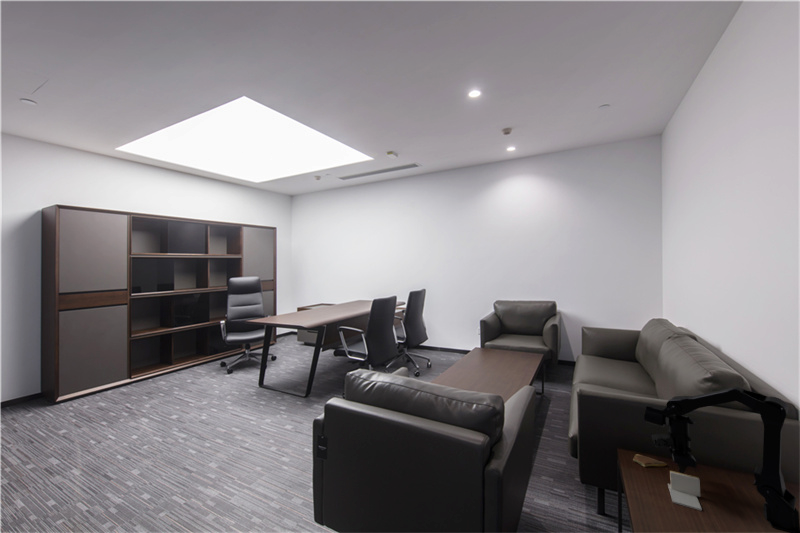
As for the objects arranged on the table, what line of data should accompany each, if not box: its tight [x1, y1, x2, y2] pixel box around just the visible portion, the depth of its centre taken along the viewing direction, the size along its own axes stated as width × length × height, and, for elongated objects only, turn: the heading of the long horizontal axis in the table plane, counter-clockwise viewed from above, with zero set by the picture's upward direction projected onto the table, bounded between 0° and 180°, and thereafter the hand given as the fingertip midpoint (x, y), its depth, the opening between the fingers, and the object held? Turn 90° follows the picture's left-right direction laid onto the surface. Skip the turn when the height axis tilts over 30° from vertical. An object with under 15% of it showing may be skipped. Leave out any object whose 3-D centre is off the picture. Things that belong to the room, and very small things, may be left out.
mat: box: [667, 483, 703, 512], centre depth 114 cm, size 8×11×1 cm
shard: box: [632, 453, 668, 468], centre depth 134 cm, size 11×8×2 cm
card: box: [669, 470, 701, 498], centre depth 116 cm, size 8×2×6 cm, turn 57°
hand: (681, 472), depth 121 cm, fingers closed
